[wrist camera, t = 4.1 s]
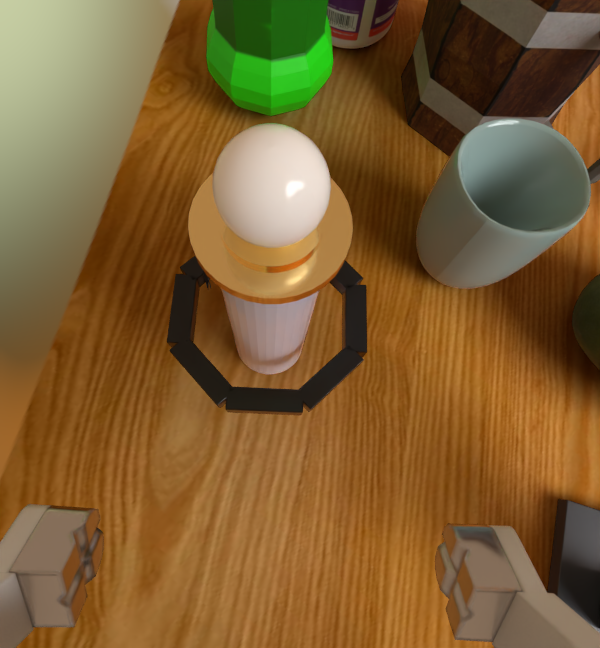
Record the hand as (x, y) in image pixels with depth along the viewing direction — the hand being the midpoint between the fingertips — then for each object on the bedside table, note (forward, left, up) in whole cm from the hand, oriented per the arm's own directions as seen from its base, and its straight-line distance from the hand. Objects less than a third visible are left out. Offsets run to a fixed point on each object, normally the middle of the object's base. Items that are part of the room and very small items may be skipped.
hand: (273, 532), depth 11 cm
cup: (+20, -8, -19) cm, 29 cm away
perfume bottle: (+9, +3, -19) cm, 21 cm away
